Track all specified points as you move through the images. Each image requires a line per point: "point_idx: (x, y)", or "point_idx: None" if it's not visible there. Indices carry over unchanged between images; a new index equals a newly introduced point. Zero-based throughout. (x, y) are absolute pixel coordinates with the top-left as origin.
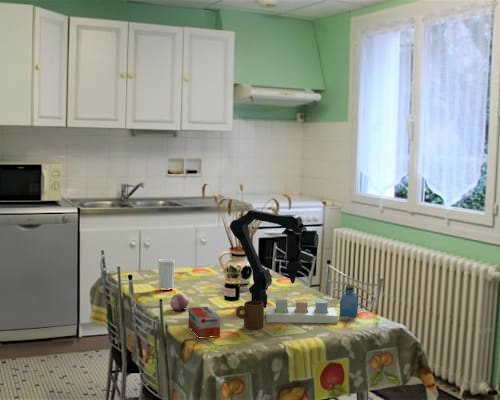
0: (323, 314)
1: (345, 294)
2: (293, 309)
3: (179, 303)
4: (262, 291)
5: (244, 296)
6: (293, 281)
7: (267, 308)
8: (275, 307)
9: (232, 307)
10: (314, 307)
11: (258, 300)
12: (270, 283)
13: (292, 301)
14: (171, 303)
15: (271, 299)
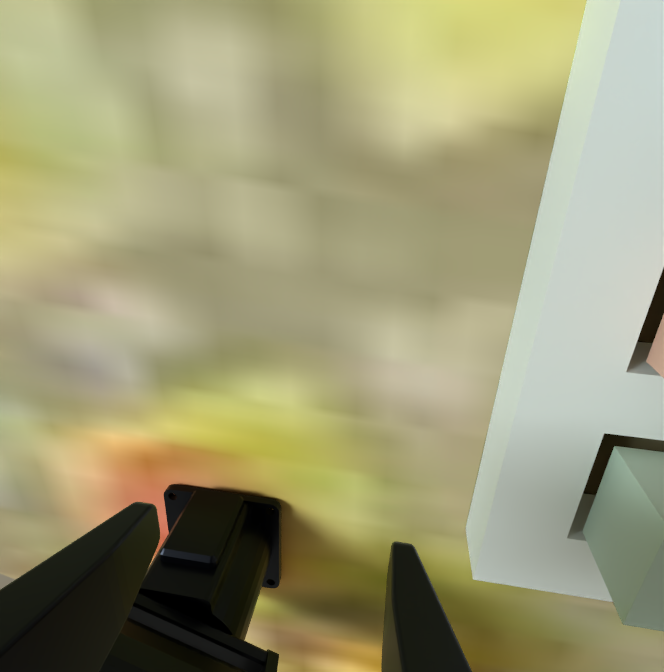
0: None
1: None
2: (636, 381)
3: None
4: (215, 636)
5: (5, 563)
6: (426, 591)
7: (537, 582)
8: (513, 522)
9: (286, 661)
10: (601, 93)
11: (260, 587)
12: (128, 655)
13: (45, 264)
14: None
15: (29, 422)
